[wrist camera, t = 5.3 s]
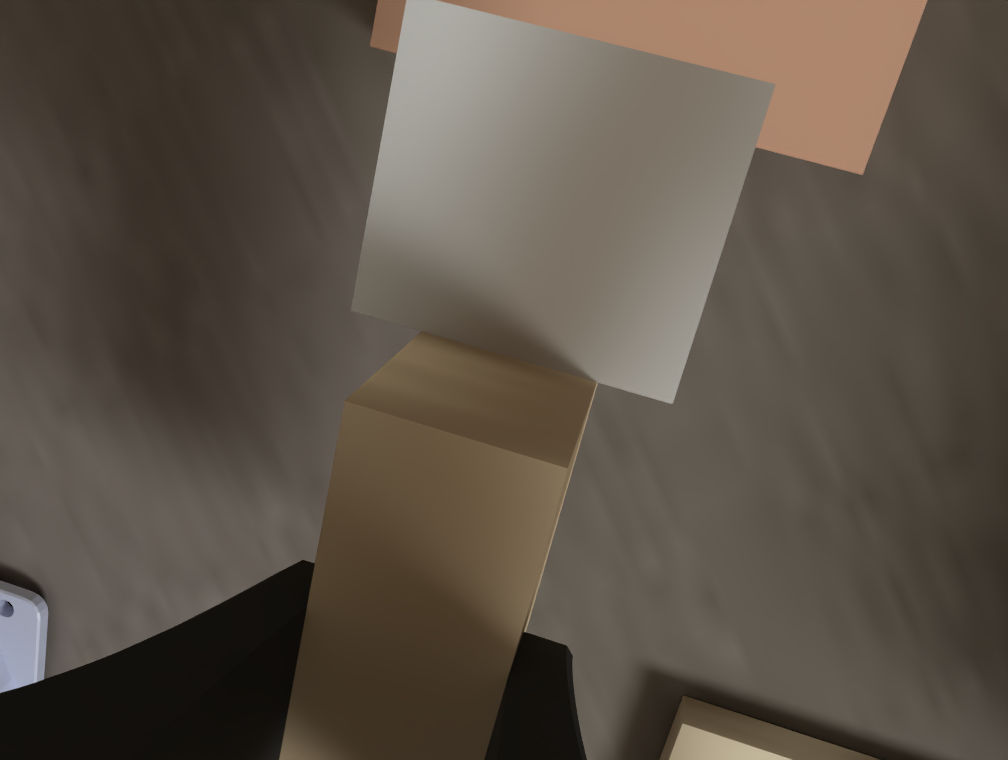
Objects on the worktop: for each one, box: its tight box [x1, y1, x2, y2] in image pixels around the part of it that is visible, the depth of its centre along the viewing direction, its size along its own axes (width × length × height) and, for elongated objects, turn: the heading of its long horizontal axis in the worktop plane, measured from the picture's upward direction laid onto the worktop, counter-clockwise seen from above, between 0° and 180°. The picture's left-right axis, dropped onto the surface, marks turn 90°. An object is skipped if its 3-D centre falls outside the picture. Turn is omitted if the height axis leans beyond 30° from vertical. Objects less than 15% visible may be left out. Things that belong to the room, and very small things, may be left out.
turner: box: [279, 0, 776, 760], centre depth 12 cm, size 4×14×4 cm, turn 167°
